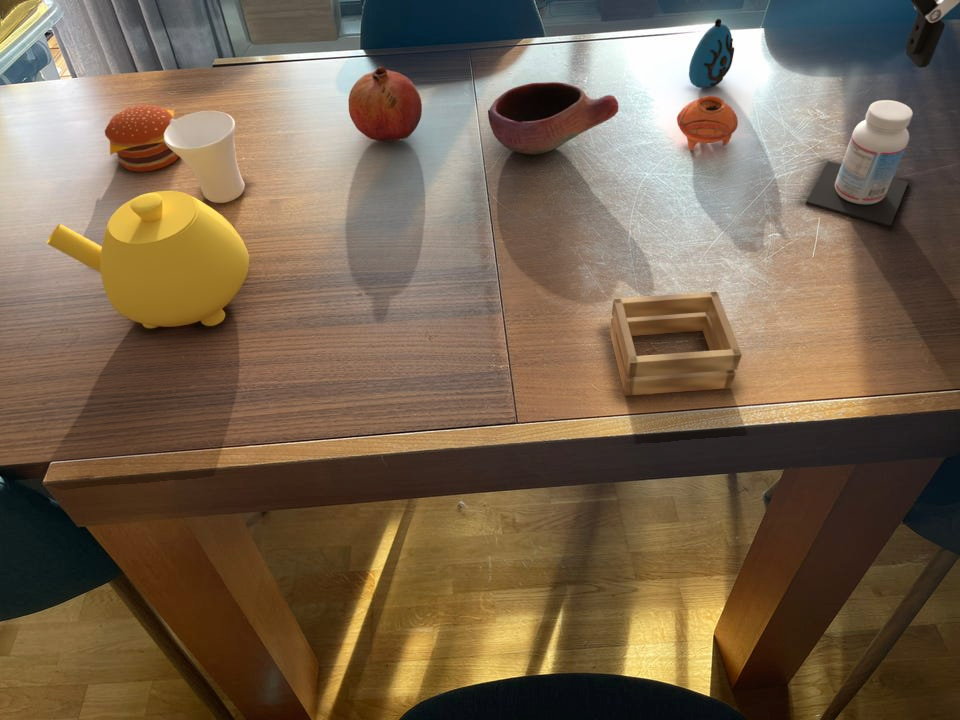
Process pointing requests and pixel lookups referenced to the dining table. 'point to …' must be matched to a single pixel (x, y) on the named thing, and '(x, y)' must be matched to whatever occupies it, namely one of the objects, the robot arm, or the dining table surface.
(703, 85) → the ornament
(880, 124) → the pill bottle
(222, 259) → the teapot
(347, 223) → the dining table surface
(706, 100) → the pot
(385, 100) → the fruit
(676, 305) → the crate
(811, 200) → the plate
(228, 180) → the cup
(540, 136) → the bowl
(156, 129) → the hamburger
